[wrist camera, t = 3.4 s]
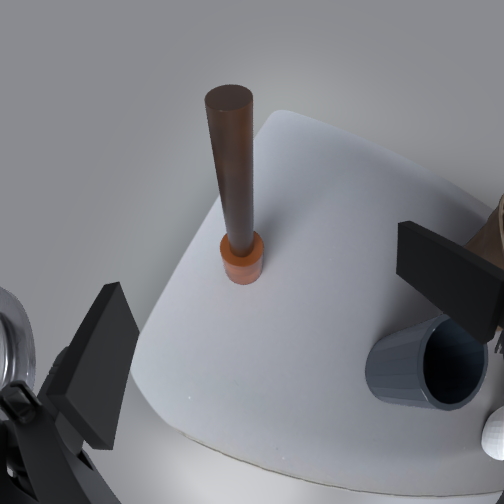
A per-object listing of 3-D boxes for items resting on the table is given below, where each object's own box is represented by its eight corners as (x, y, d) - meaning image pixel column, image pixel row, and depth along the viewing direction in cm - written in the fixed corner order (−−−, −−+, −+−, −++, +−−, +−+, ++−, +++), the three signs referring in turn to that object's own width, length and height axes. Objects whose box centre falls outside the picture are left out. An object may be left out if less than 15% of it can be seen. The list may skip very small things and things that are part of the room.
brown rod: (229, 288, 34) (187, 132, 12) (222, 254, 36) (182, 83, 14) (265, 280, 34) (284, 116, 12) (257, 247, 36) (260, 70, 14)
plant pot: (439, 366, 29) (530, 349, 14) (411, 252, 35) (478, 185, 21) (508, 332, 30) (582, 303, 15) (481, 239, 36) (542, 186, 21)
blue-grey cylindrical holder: (373, 414, 27) (428, 428, 16) (356, 346, 31) (405, 330, 20) (432, 386, 28) (495, 383, 17) (416, 323, 32) (474, 298, 21)
